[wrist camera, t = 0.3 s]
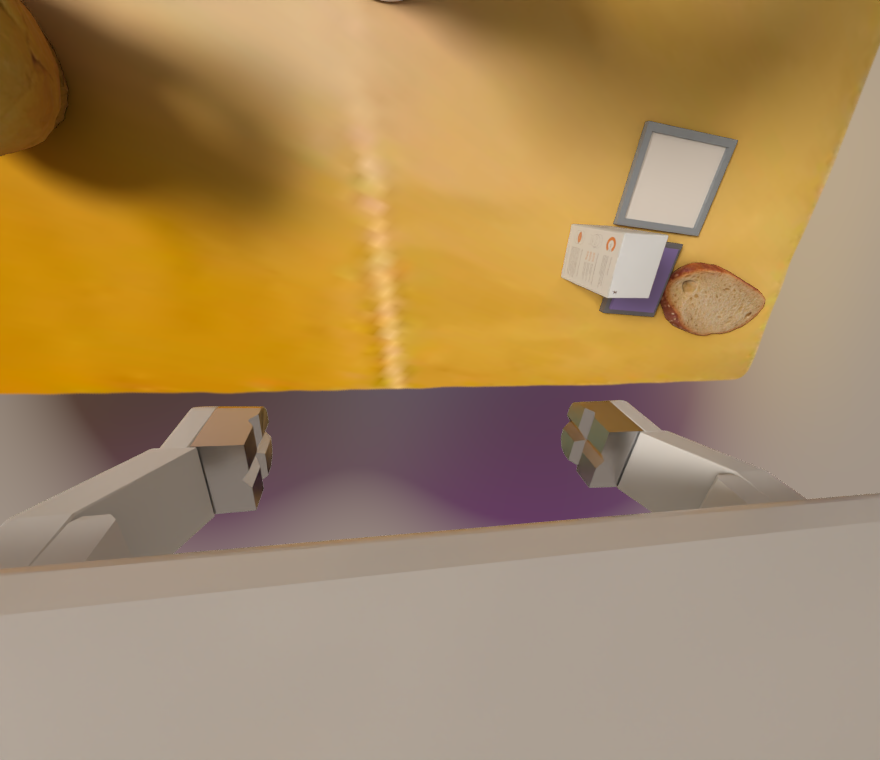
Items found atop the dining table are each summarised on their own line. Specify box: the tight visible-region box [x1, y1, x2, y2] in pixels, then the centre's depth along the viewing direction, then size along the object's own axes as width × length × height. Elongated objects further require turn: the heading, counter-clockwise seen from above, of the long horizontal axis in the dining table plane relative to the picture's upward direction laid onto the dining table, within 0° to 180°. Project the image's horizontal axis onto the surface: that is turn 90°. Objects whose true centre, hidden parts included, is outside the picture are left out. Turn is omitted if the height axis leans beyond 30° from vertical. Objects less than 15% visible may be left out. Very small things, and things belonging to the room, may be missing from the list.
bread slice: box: [660, 263, 765, 336], centre depth 64 cm, size 18×18×4 cm
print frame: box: [613, 121, 738, 236], centre depth 54 cm, size 13×15×1 cm
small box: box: [561, 224, 668, 298], centre depth 52 cm, size 8×6×13 cm
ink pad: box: [599, 242, 683, 317], centre depth 60 cm, size 12×10×2 cm
